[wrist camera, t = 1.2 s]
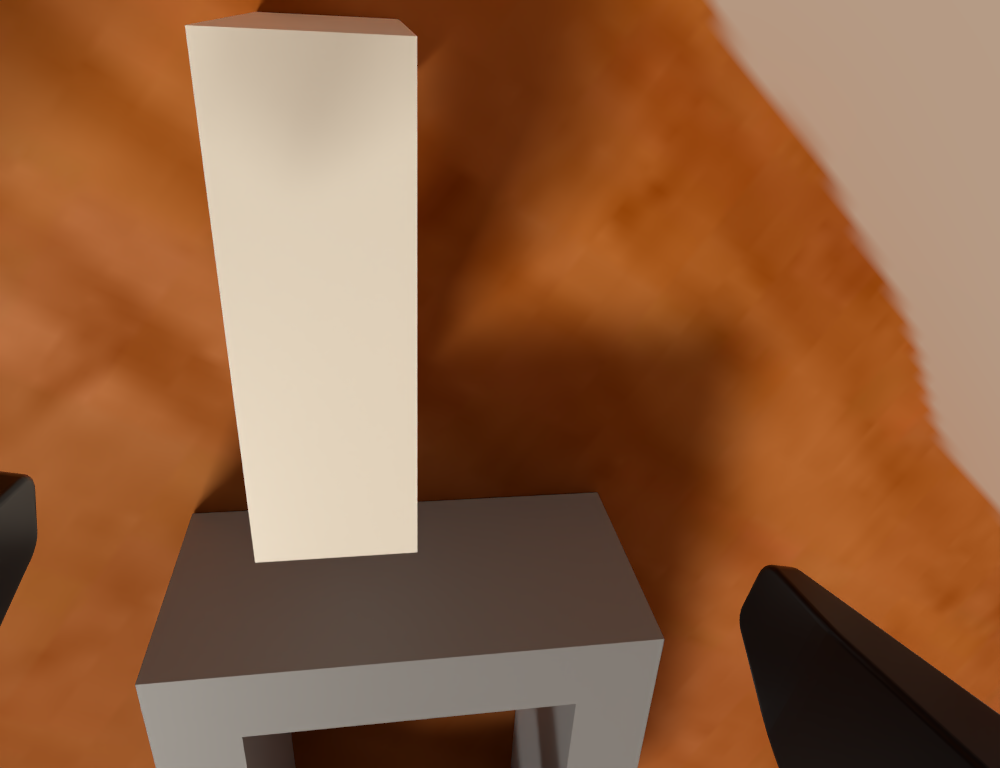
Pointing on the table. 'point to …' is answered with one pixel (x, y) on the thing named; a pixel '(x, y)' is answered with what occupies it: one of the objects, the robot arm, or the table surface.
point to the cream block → (316, 271)
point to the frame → (407, 637)
